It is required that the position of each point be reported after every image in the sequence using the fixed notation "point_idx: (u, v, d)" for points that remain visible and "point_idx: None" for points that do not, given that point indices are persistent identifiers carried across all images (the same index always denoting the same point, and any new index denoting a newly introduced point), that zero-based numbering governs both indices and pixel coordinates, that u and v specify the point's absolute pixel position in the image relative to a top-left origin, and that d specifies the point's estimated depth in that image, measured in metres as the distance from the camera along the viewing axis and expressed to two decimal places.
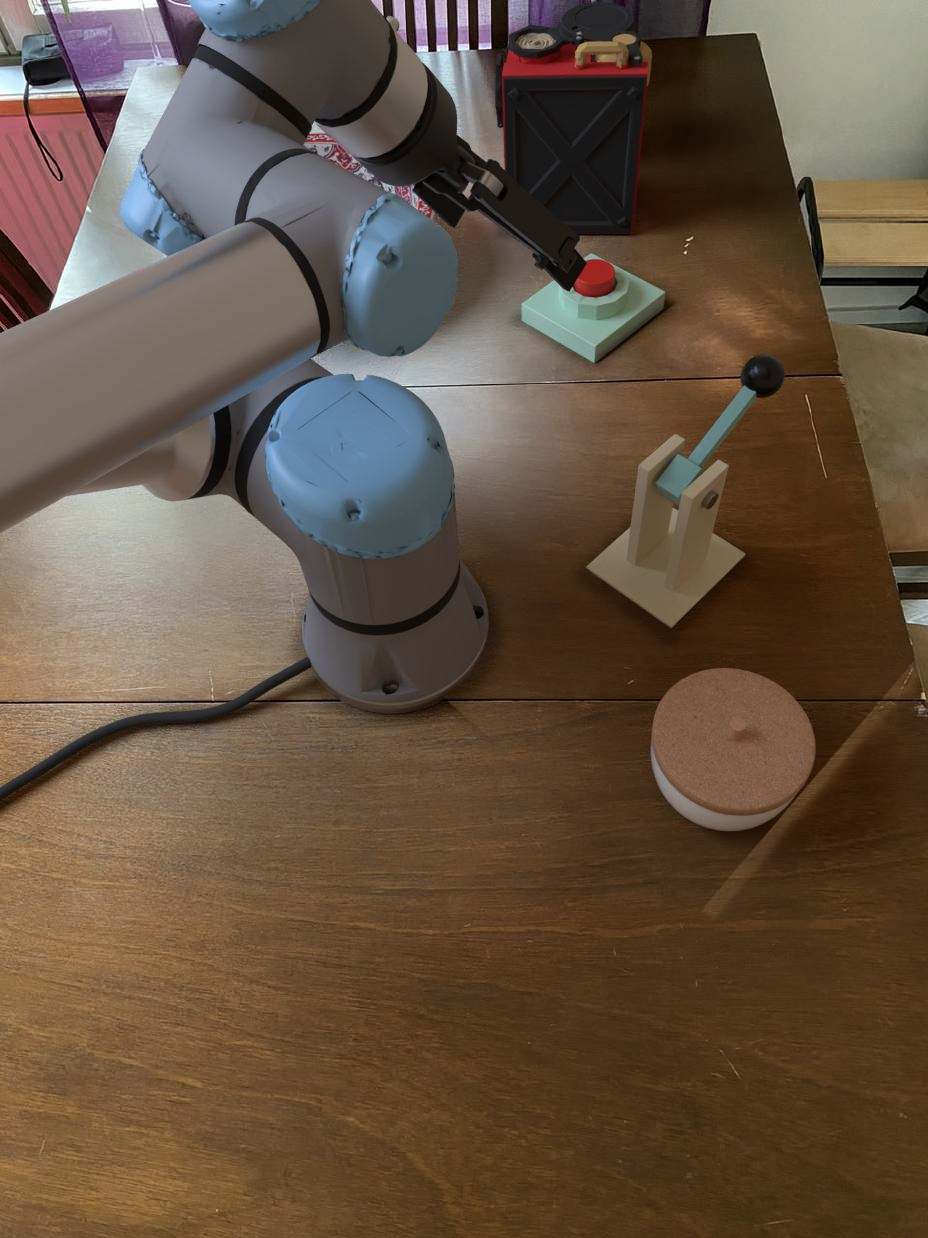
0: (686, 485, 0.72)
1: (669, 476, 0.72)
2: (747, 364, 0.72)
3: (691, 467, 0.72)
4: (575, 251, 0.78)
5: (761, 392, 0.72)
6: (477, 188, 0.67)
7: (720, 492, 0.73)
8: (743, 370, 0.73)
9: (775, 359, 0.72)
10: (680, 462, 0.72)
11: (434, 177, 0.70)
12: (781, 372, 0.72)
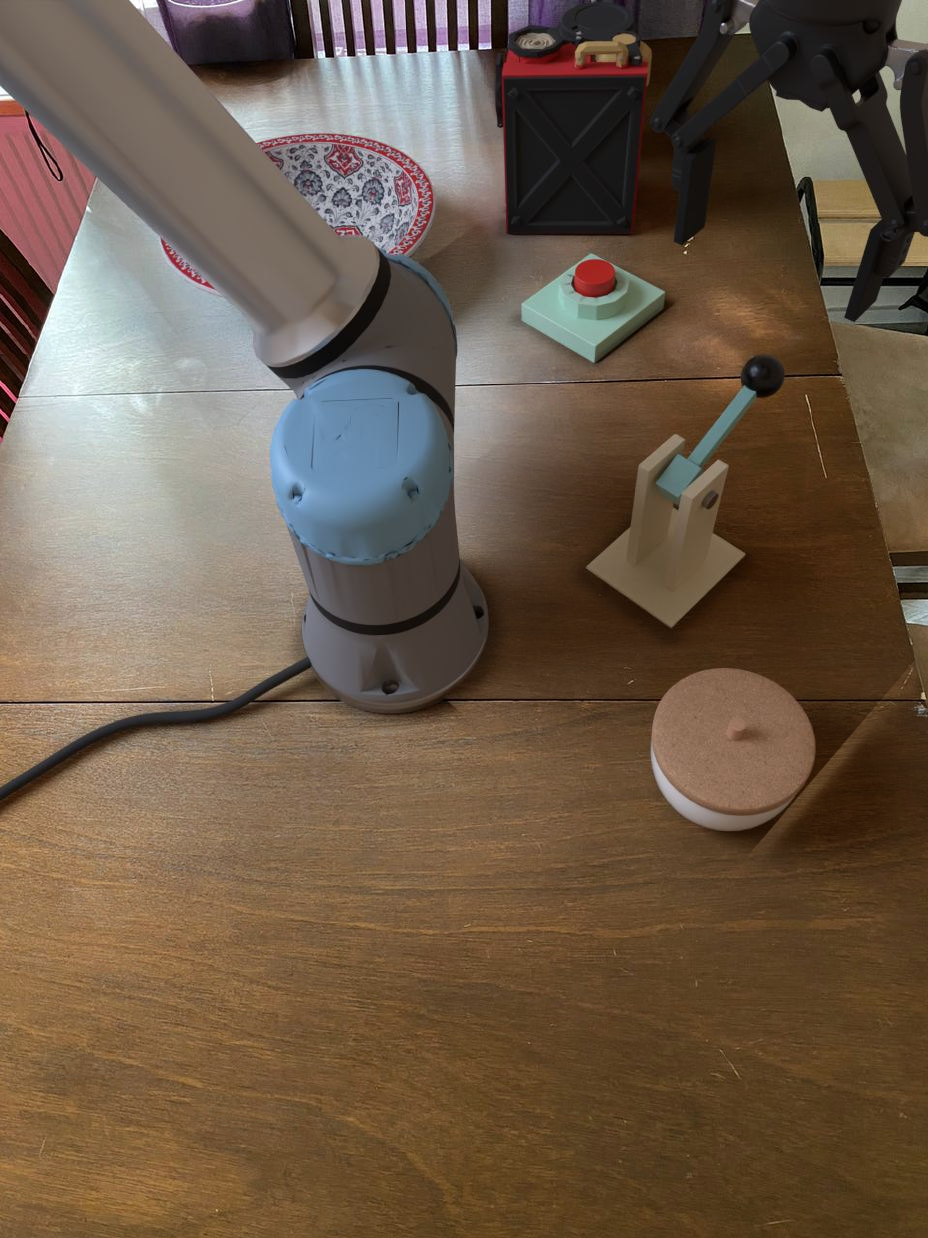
0: (686, 485, 0.72)
1: (669, 476, 0.72)
2: (747, 364, 0.72)
3: (691, 467, 0.72)
4: None
5: (761, 392, 0.72)
6: (925, 54, 0.50)
7: (720, 492, 0.73)
8: (743, 370, 0.73)
9: (775, 359, 0.72)
10: (680, 462, 0.72)
11: (834, 55, 0.53)
12: (781, 372, 0.72)
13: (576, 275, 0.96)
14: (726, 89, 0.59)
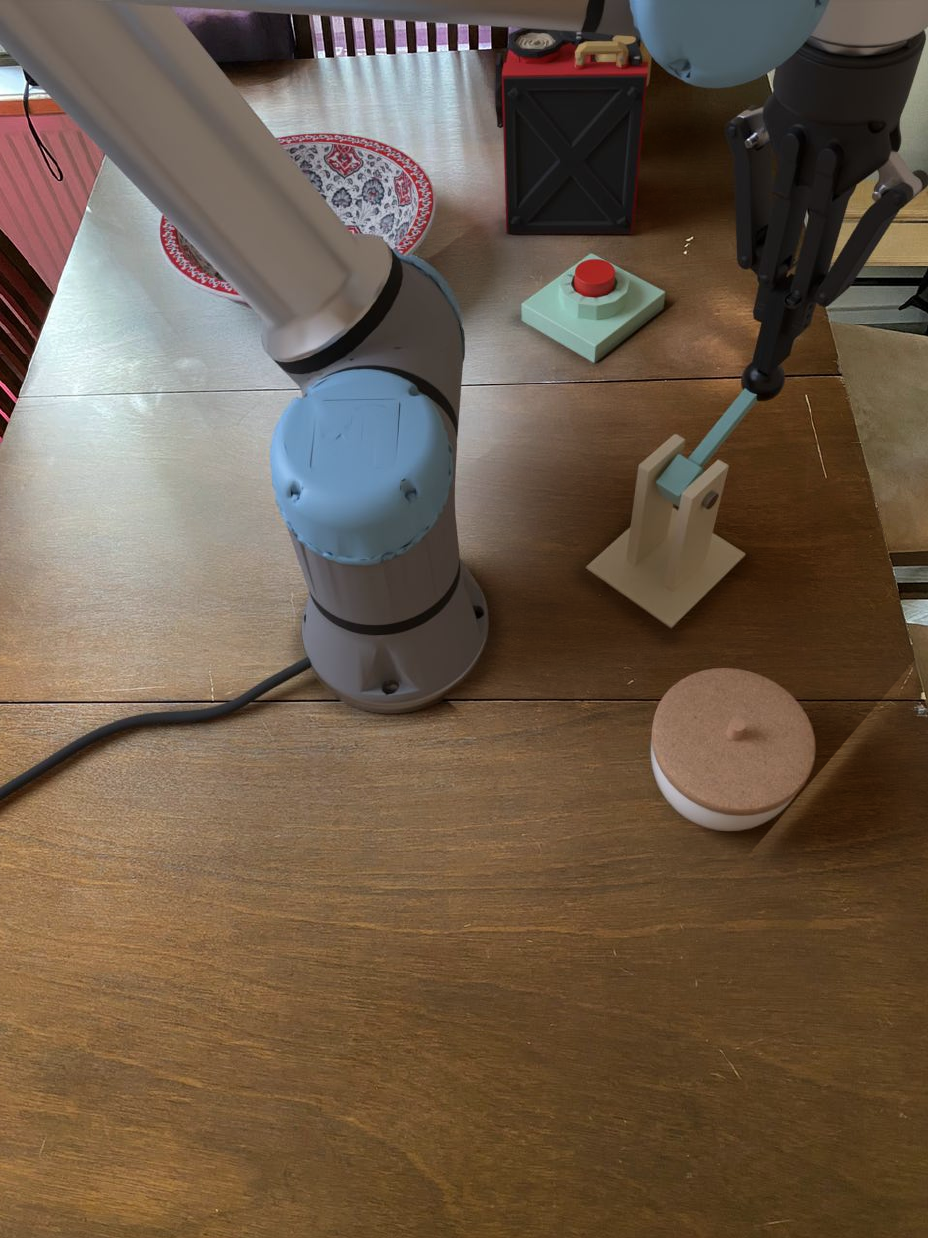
0: (687, 484, 0.72)
1: (670, 475, 0.72)
2: (748, 367, 0.73)
3: (692, 467, 0.72)
4: None
5: (762, 395, 0.73)
6: (909, 194, 0.55)
7: (720, 492, 0.73)
8: (744, 373, 0.73)
9: None
10: (681, 462, 0.72)
11: (841, 149, 0.56)
12: (782, 376, 0.72)
13: (576, 275, 0.96)
14: (774, 208, 0.62)
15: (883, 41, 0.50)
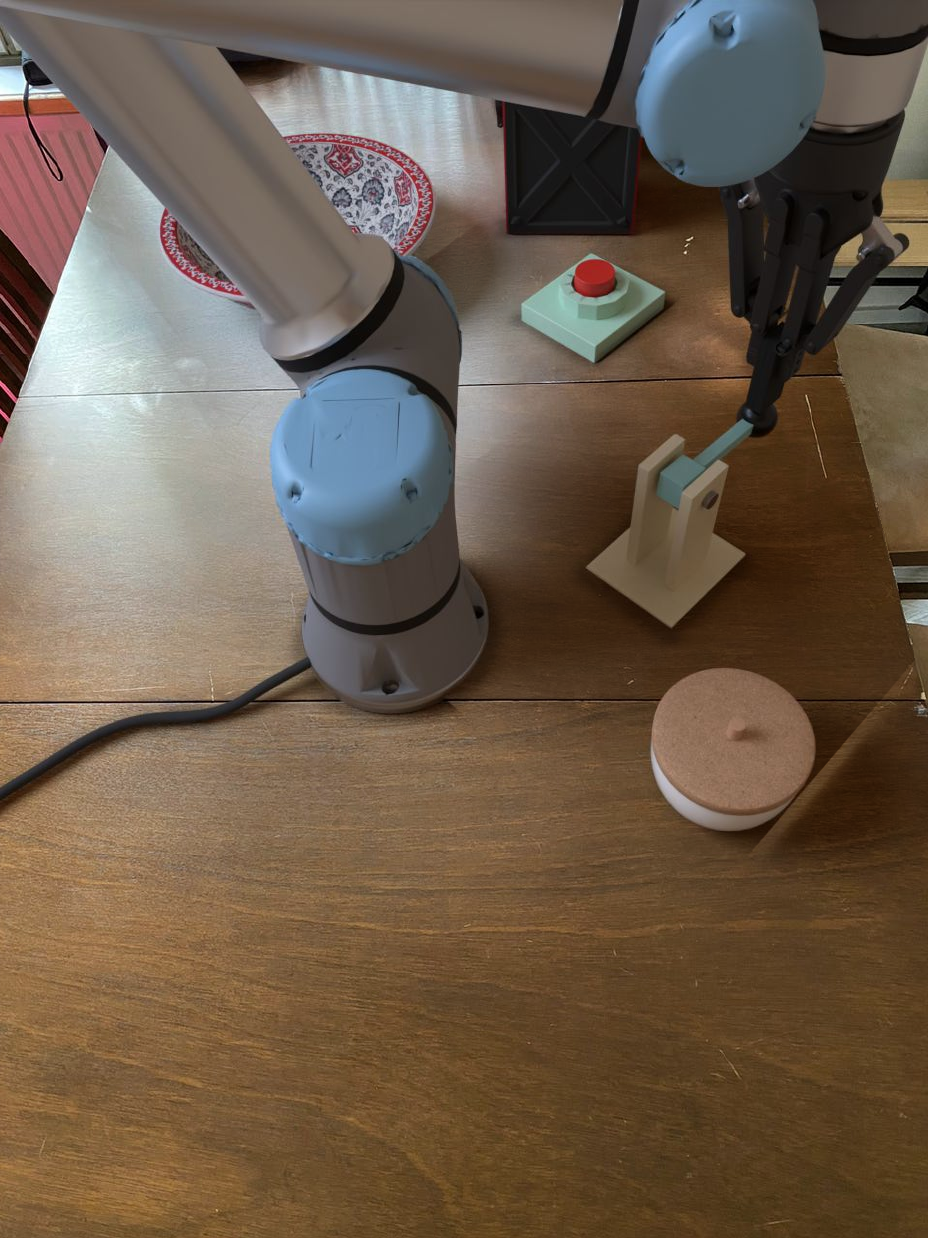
0: (691, 478, 0.72)
1: (674, 469, 0.72)
2: None
3: (696, 466, 0.72)
4: None
5: (758, 426, 0.76)
6: (890, 256, 0.59)
7: (720, 492, 0.73)
8: (742, 406, 0.77)
9: None
10: (685, 460, 0.73)
11: (827, 213, 0.60)
12: (777, 414, 0.77)
13: (576, 275, 0.96)
14: (765, 263, 0.66)
15: (864, 121, 0.54)
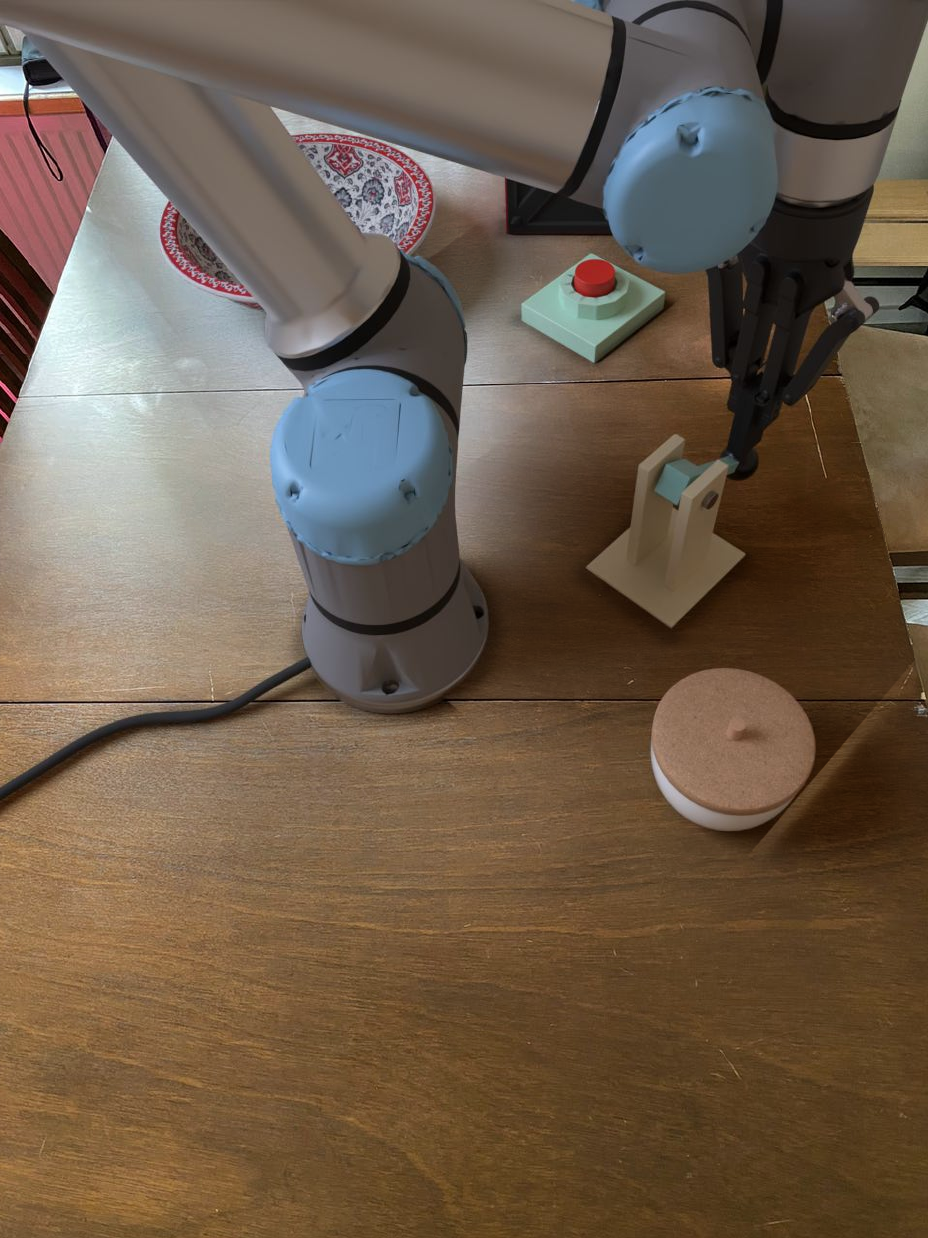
0: (696, 475, 0.72)
1: (679, 465, 0.72)
2: None
3: (698, 468, 0.73)
4: None
5: (743, 464, 0.79)
6: (861, 319, 0.62)
7: (720, 492, 0.73)
8: None
9: None
10: (687, 462, 0.73)
11: (801, 278, 0.63)
12: (758, 460, 0.80)
13: (576, 275, 0.96)
14: (744, 320, 0.69)
15: (834, 198, 0.57)
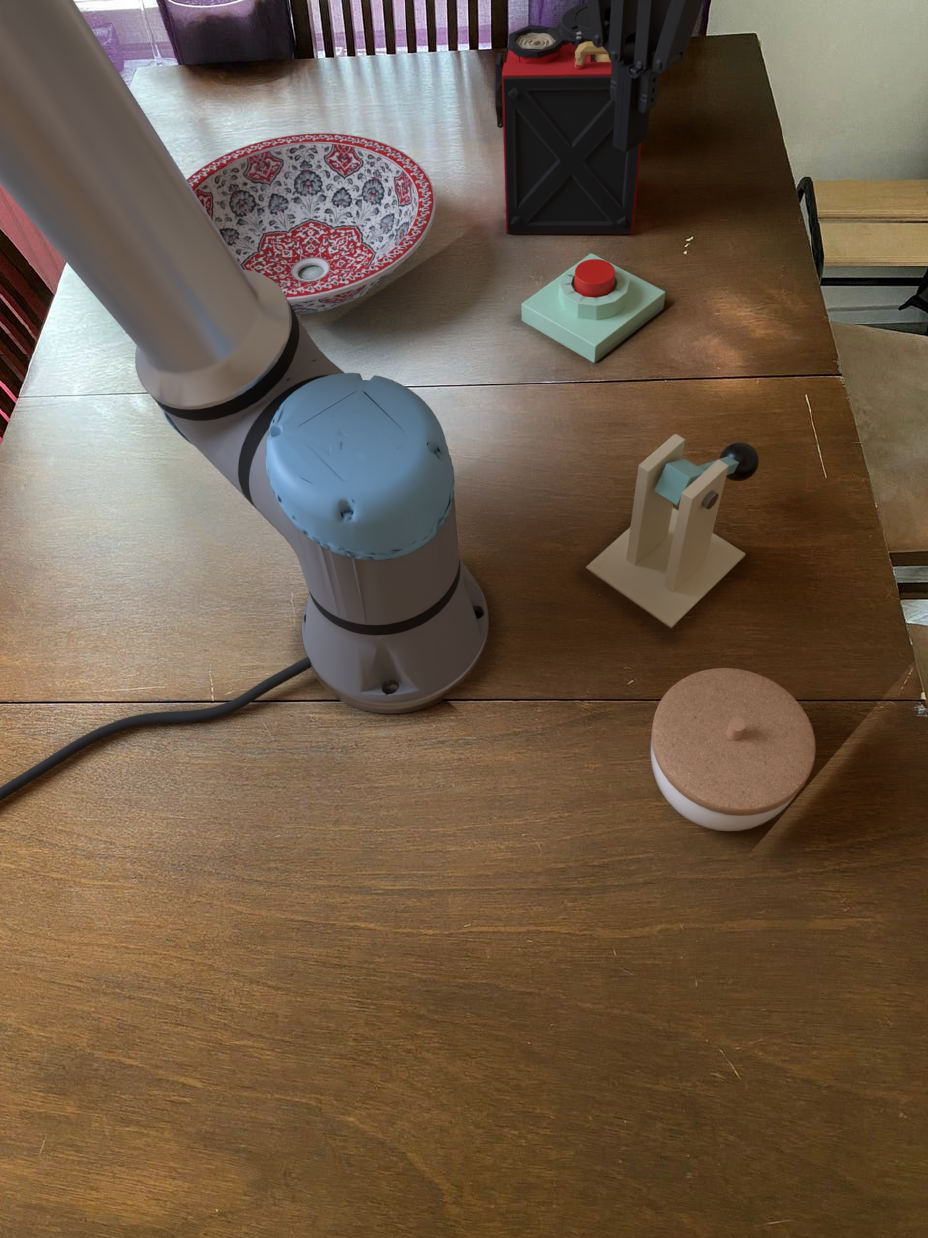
0: (696, 475, 0.72)
1: (679, 465, 0.72)
2: None
3: (698, 468, 0.73)
4: (649, 109, 0.80)
5: (743, 464, 0.79)
6: None
7: (720, 492, 0.73)
8: (728, 446, 0.80)
9: None
10: (687, 462, 0.73)
11: None
12: (758, 460, 0.80)
13: (576, 275, 0.96)
14: None
15: None
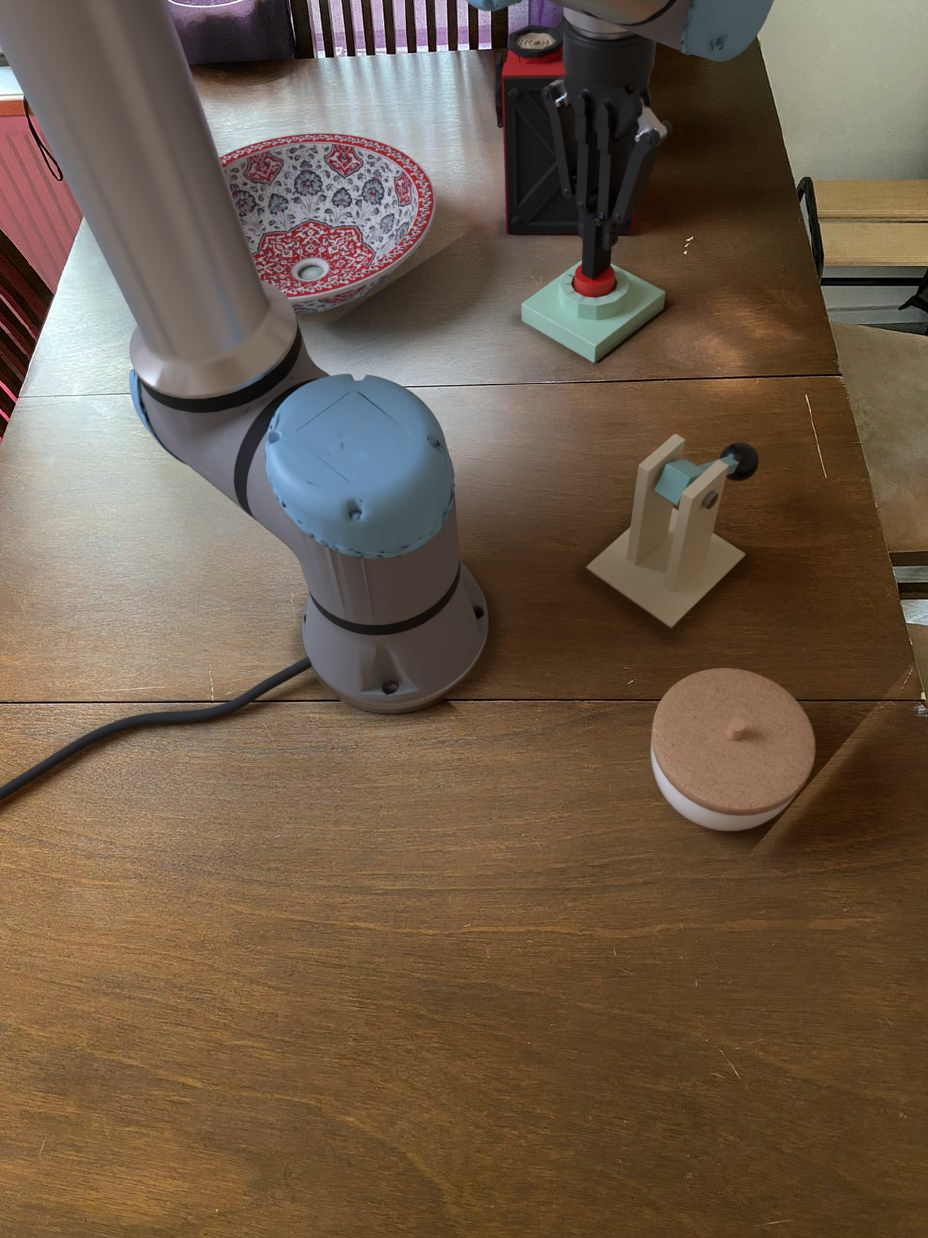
0: (696, 475, 0.72)
1: (679, 465, 0.72)
2: None
3: (698, 468, 0.73)
4: None
5: (743, 464, 0.79)
6: (656, 136, 0.80)
7: (720, 492, 0.73)
8: (728, 446, 0.80)
9: None
10: (687, 462, 0.73)
11: (611, 105, 0.81)
12: (758, 460, 0.80)
13: (576, 277, 0.97)
14: (579, 150, 0.87)
15: (620, 30, 0.74)
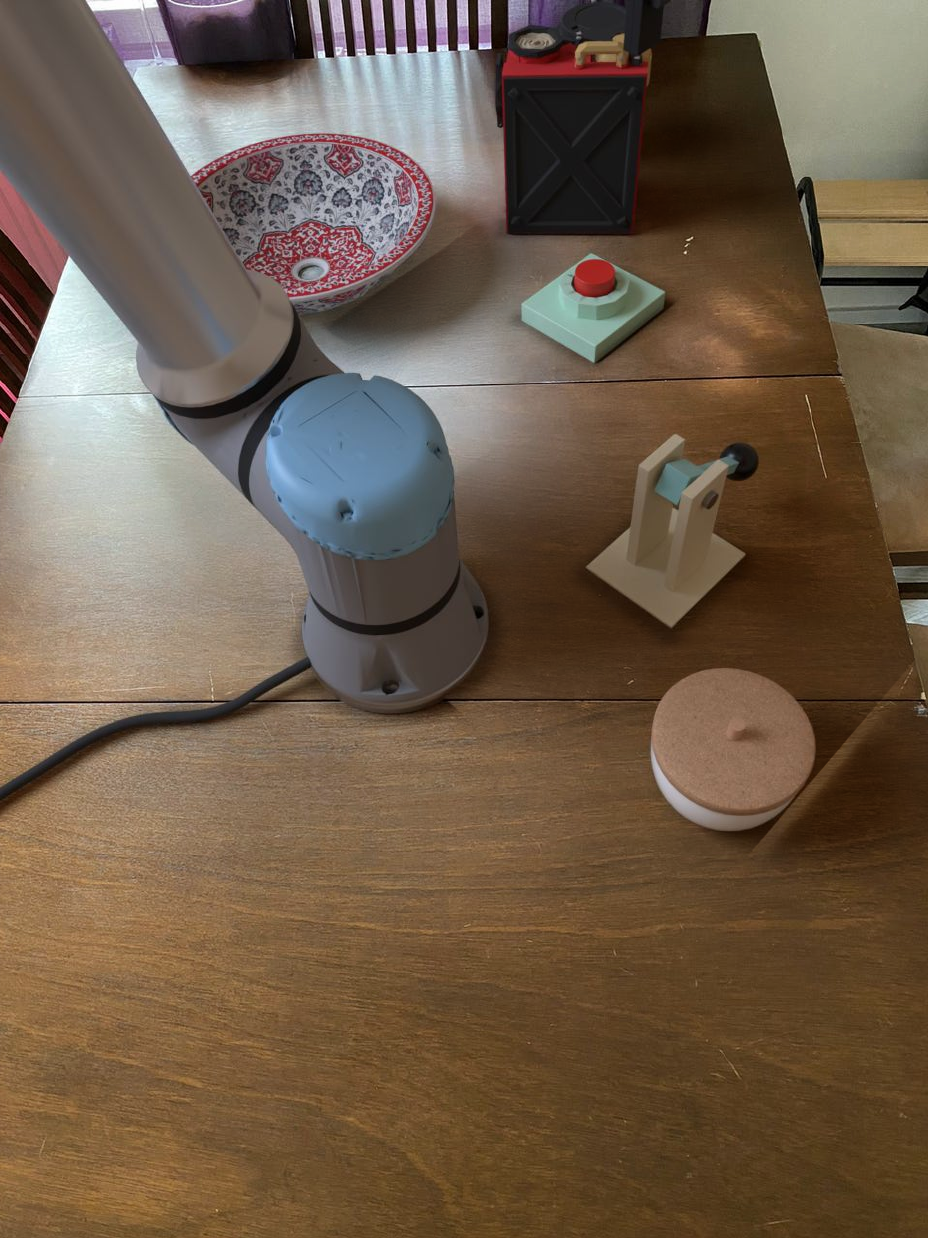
0: (696, 475, 0.72)
1: (679, 465, 0.72)
2: None
3: (698, 468, 0.73)
4: (662, 7, 0.73)
5: (743, 464, 0.79)
6: None
7: (720, 492, 0.73)
8: (728, 446, 0.80)
9: None
10: (687, 462, 0.73)
11: None
12: (758, 460, 0.80)
13: (576, 275, 0.96)
14: None
15: None
